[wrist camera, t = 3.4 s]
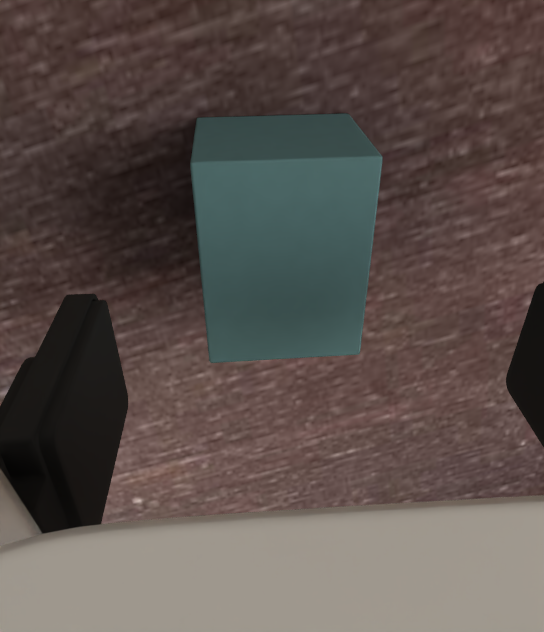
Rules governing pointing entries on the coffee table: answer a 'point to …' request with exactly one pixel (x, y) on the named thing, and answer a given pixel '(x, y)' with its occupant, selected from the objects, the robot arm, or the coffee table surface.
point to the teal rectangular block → (284, 233)
